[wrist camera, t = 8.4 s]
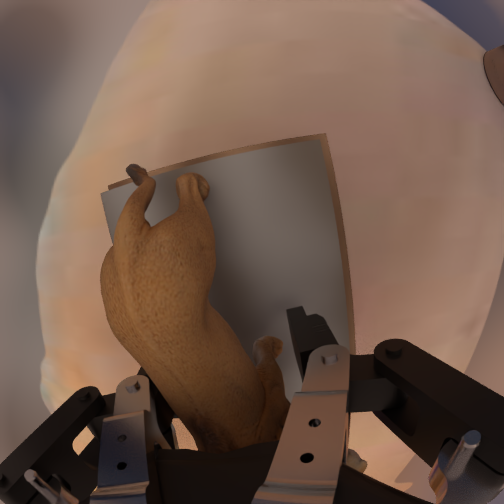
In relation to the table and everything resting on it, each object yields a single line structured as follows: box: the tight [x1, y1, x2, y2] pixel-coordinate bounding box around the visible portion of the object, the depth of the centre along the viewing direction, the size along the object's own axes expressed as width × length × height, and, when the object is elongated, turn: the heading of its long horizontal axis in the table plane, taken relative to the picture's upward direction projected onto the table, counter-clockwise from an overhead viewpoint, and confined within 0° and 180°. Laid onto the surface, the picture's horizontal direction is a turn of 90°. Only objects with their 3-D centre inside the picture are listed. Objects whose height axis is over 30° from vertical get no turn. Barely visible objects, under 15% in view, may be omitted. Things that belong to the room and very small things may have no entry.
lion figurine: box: [100, 164, 367, 473], centre depth 8 cm, size 15×5×9 cm, turn 32°
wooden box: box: [101, 133, 356, 403], centre depth 20 cm, size 16×18×10 cm
